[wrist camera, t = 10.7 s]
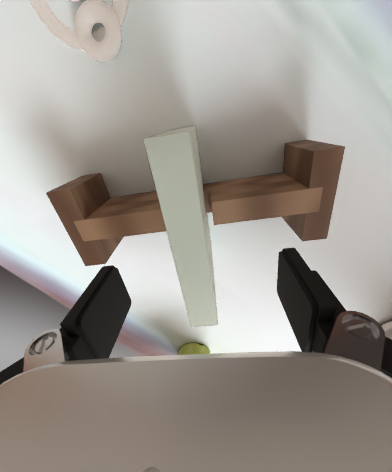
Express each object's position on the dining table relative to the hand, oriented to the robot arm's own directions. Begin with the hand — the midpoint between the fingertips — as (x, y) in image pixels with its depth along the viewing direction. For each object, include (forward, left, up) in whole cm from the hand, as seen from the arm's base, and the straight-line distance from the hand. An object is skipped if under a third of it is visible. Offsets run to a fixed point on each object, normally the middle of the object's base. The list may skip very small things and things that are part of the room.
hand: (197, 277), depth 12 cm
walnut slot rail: (+1, 0, -14) cm, 14 cm away
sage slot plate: (0, 0, -14) cm, 14 cm away
